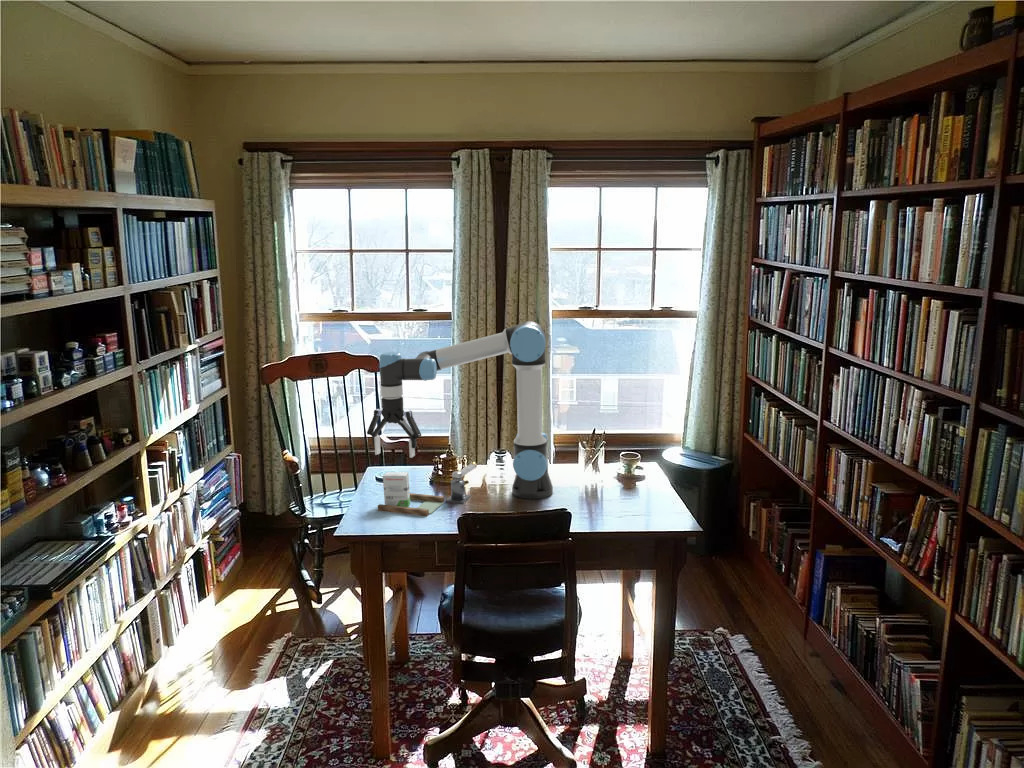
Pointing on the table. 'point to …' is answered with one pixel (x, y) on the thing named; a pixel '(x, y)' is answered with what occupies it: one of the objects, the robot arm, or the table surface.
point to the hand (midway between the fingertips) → (395, 455)
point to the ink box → (396, 489)
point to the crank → (463, 471)
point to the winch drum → (458, 492)
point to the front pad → (430, 506)
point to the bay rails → (408, 509)
